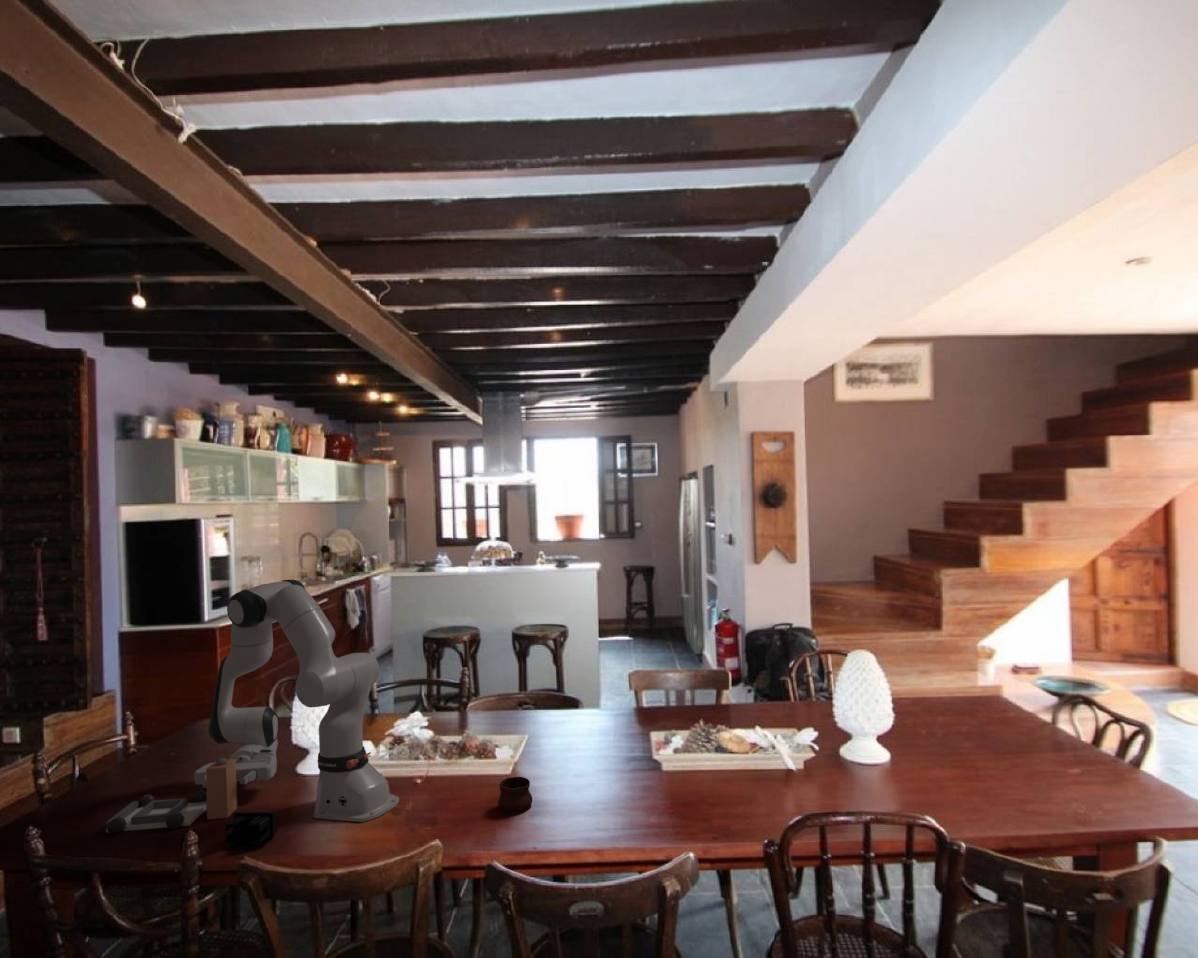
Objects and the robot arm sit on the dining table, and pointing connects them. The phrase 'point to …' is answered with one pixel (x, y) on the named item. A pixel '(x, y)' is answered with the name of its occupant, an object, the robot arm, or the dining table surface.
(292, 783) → the dining table surface
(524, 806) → the ceramic pot
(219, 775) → the tall wooden block
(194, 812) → the chassis
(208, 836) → the dining table surface
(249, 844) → the end cap
